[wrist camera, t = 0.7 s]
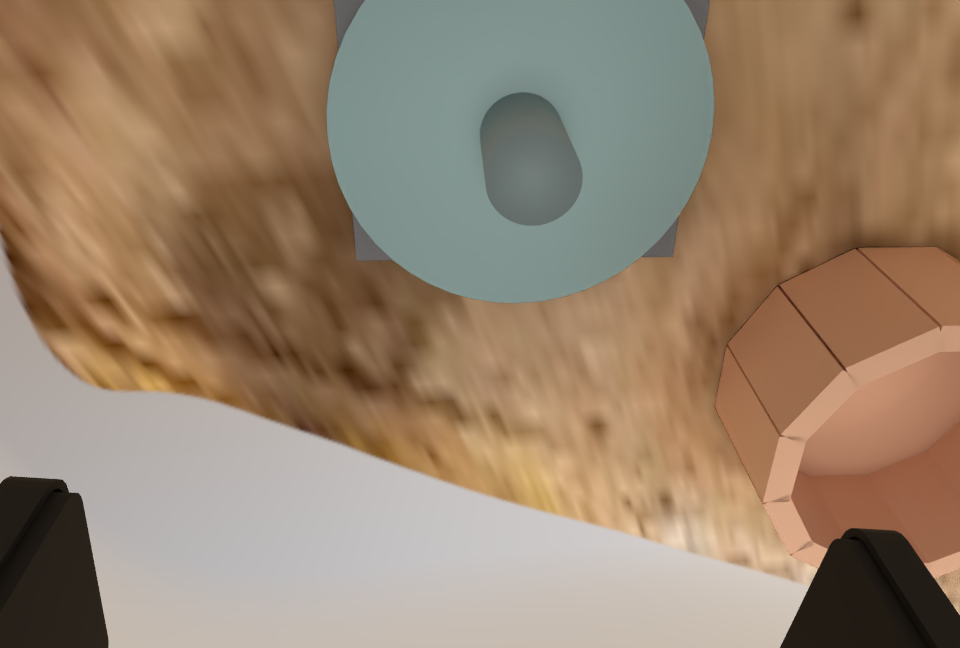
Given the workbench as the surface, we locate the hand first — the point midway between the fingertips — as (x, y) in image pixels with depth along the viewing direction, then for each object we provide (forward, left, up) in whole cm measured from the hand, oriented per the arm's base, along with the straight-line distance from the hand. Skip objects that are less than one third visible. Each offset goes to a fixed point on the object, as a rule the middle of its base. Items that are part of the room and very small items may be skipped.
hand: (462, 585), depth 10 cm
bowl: (-17, +11, -20) cm, 29 cm away
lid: (-2, 0, -20) cm, 20 cm away
